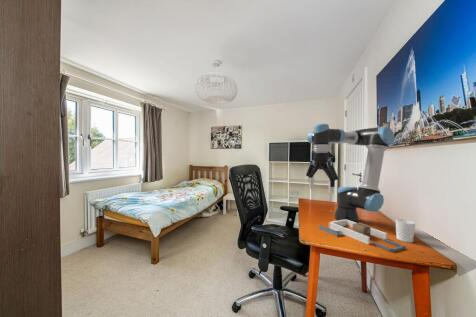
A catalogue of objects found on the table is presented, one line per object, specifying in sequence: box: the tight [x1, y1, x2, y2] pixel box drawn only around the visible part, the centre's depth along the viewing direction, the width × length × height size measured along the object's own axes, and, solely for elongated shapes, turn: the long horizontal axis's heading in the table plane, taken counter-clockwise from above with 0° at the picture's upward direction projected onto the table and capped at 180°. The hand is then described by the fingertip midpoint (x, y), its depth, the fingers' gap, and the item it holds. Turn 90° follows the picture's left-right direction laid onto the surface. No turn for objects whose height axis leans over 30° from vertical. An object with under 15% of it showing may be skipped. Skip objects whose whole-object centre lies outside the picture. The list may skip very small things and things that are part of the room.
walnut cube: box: [352, 222, 372, 238], centre depth 106 cm, size 6×6×6 cm
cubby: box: [328, 219, 388, 245], centre depth 109 cm, size 15×24×4 cm, turn 23°
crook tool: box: [318, 224, 344, 237], centre depth 111 cm, size 5×12×2 cm, turn 25°
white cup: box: [395, 218, 416, 243], centre depth 102 cm, size 8×8×10 cm
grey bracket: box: [371, 238, 406, 253], centre depth 94 cm, size 10×9×1 cm
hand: (320, 190), depth 106 cm, fingers open, 13 cm apart
